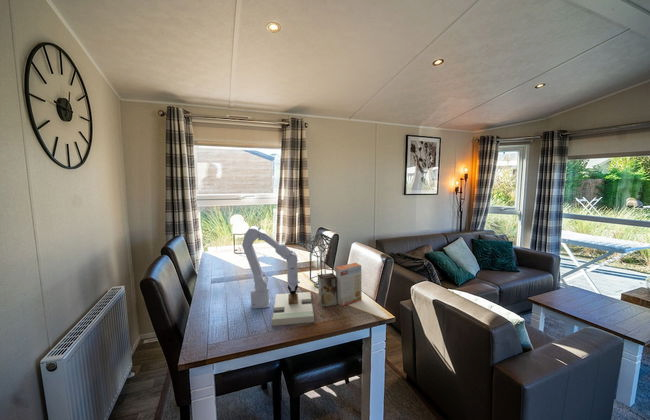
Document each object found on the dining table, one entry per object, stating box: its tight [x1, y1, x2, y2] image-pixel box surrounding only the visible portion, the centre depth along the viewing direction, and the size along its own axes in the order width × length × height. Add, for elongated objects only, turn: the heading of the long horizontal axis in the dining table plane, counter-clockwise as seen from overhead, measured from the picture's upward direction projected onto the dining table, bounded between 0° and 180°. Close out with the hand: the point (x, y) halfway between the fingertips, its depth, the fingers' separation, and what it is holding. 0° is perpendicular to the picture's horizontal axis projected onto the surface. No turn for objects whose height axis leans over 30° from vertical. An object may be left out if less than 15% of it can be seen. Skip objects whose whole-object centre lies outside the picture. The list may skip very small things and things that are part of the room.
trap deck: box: [271, 291, 315, 327], centre depth 131 cm, size 20×28×3 cm
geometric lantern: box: [304, 232, 337, 288], centre depth 156 cm, size 16×16×35 cm
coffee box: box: [317, 272, 338, 308], centre depth 135 cm, size 9×6×16 cm
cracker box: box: [335, 262, 363, 307], centre depth 136 cm, size 14×6×21 cm, turn 120°
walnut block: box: [288, 292, 299, 305], centre depth 134 cm, size 5×5×4 cm
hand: (293, 297), depth 138 cm, fingers closed
